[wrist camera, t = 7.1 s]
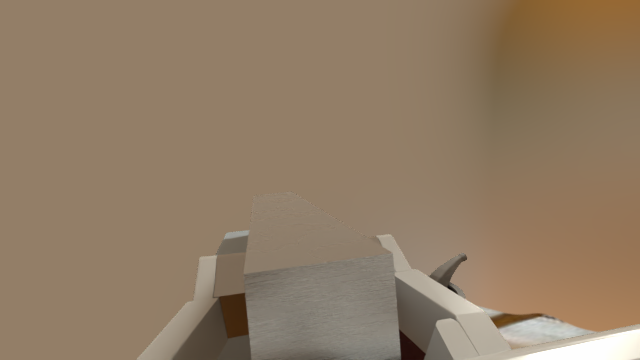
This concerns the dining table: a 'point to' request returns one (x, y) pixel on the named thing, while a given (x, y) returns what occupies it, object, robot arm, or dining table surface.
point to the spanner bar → (316, 286)
